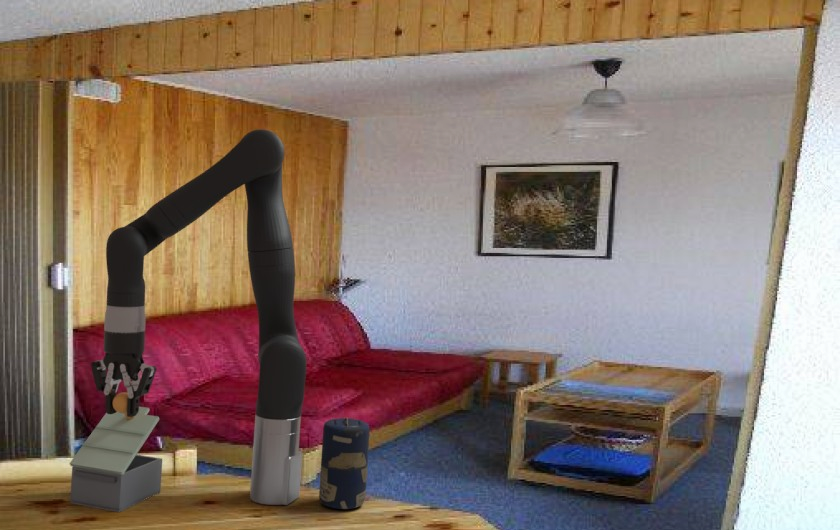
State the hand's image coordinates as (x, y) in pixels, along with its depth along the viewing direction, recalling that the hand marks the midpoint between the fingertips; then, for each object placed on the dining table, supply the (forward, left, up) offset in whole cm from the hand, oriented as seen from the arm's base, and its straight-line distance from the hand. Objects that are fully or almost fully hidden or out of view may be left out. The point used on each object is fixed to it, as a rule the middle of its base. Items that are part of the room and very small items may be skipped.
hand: (121, 414), depth 153 cm
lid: (0, 0, -5) cm, 5 cm away
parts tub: (0, 0, -17) cm, 17 cm away
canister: (-41, -17, -17) cm, 47 cm away
